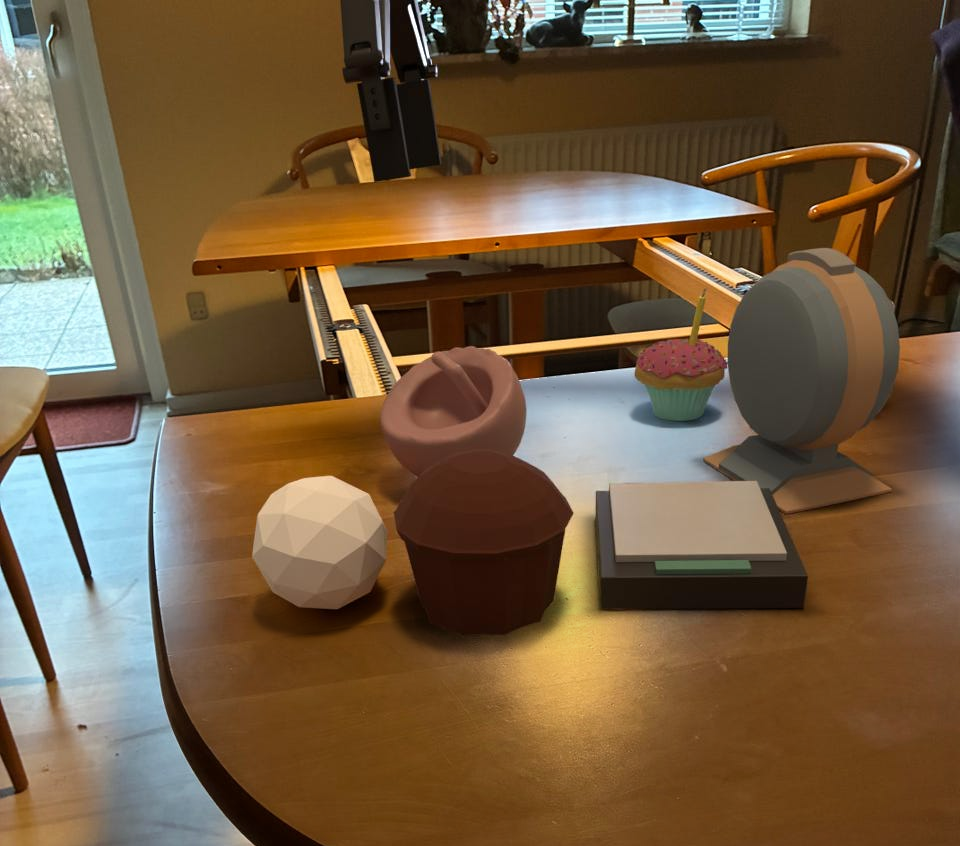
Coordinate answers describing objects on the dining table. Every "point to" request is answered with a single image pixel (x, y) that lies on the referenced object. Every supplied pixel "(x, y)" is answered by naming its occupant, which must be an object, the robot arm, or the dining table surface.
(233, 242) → the dining table surface
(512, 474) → the muffin
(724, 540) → the scale
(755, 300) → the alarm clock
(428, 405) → the mortar and pestle
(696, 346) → the cupcake
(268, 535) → the white geodesic ball
